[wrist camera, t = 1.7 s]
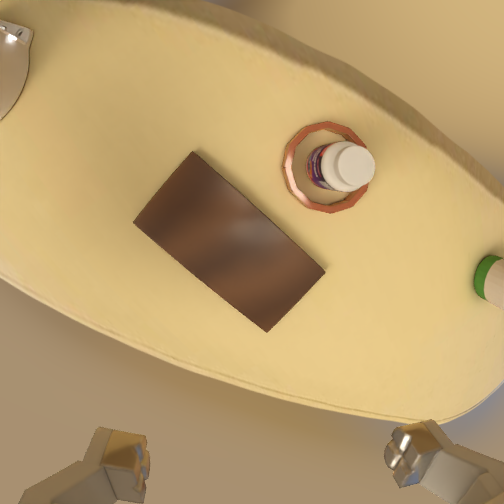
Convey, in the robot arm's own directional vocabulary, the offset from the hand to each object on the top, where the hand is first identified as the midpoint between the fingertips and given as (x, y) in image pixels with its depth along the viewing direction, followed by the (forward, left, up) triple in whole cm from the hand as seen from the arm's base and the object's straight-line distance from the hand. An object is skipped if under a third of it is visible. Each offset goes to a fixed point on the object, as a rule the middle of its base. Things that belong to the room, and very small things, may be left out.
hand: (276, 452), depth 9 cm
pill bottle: (+2, +15, -32) cm, 35 cm away
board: (0, 0, -32) cm, 32 cm away
